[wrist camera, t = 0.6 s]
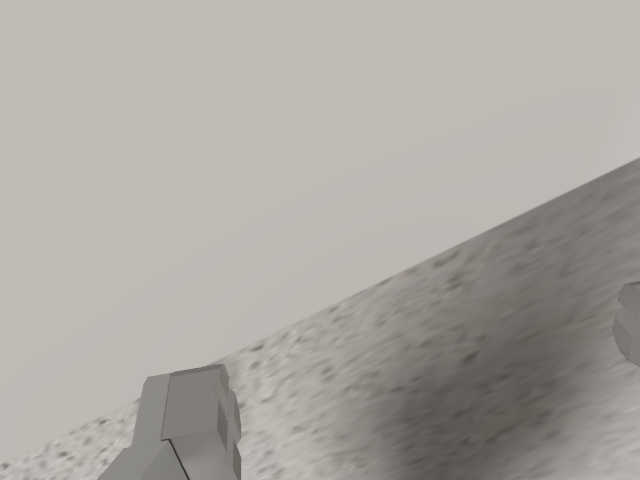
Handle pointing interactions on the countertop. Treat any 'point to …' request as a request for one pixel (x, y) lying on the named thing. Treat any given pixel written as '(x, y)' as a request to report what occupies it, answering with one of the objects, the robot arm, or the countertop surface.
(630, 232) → the countertop surface
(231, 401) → the robot arm
